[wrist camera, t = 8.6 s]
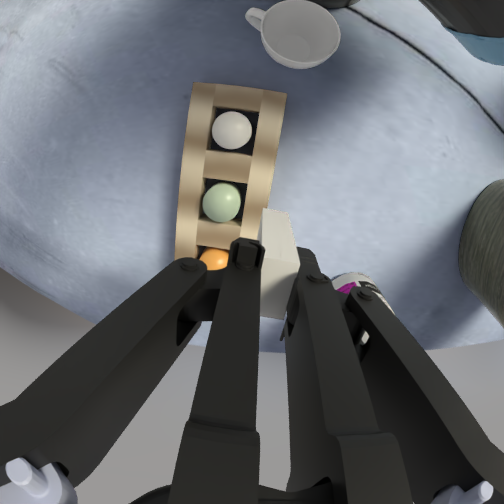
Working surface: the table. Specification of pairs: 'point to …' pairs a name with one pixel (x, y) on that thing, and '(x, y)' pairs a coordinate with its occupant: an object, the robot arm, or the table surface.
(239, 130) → the button white
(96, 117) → the table surface
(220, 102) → the wooden ball rack
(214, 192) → the button green
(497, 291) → the planter
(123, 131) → the table surface
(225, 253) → the button orange
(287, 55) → the cup
